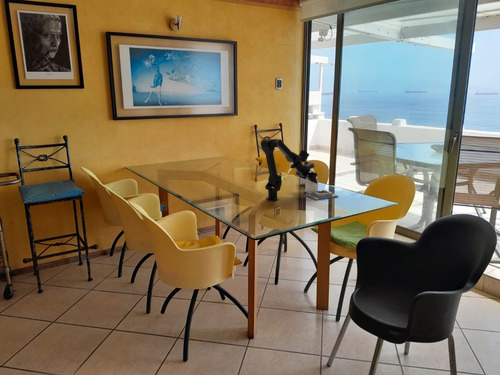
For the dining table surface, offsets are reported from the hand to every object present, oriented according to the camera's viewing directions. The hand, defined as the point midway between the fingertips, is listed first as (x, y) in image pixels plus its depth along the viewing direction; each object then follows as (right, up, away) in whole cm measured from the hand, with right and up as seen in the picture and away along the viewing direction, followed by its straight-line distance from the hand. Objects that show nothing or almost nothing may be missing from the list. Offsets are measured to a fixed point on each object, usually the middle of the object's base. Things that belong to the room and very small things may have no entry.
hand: (313, 181), depth 258 cm
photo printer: (-1, -2, +23) cm, 23 cm away
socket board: (+4, -10, -10) cm, 15 cm away
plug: (-1, -7, +1) cm, 7 cm away
